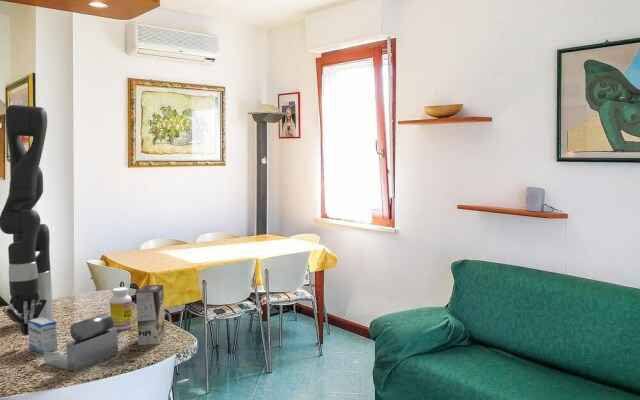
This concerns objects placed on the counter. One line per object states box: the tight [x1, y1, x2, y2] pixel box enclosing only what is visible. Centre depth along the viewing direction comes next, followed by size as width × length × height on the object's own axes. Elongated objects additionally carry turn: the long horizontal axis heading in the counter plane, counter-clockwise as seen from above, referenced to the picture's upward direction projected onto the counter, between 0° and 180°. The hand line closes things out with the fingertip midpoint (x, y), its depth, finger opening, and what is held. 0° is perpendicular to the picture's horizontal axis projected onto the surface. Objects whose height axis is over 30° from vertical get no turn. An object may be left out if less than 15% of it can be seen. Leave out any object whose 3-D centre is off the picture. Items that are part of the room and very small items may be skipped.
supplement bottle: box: [109, 286, 133, 331], centre depth 182 cm, size 7×7×13 cm
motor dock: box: [43, 312, 119, 372], centre depth 155 cm, size 14×14×12 cm
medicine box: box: [28, 317, 58, 355], centre depth 163 cm, size 8×4×9 cm, turn 55°
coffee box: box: [135, 284, 166, 346], centre depth 169 cm, size 9×6×16 cm
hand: (27, 334), depth 165 cm, fingers closed
